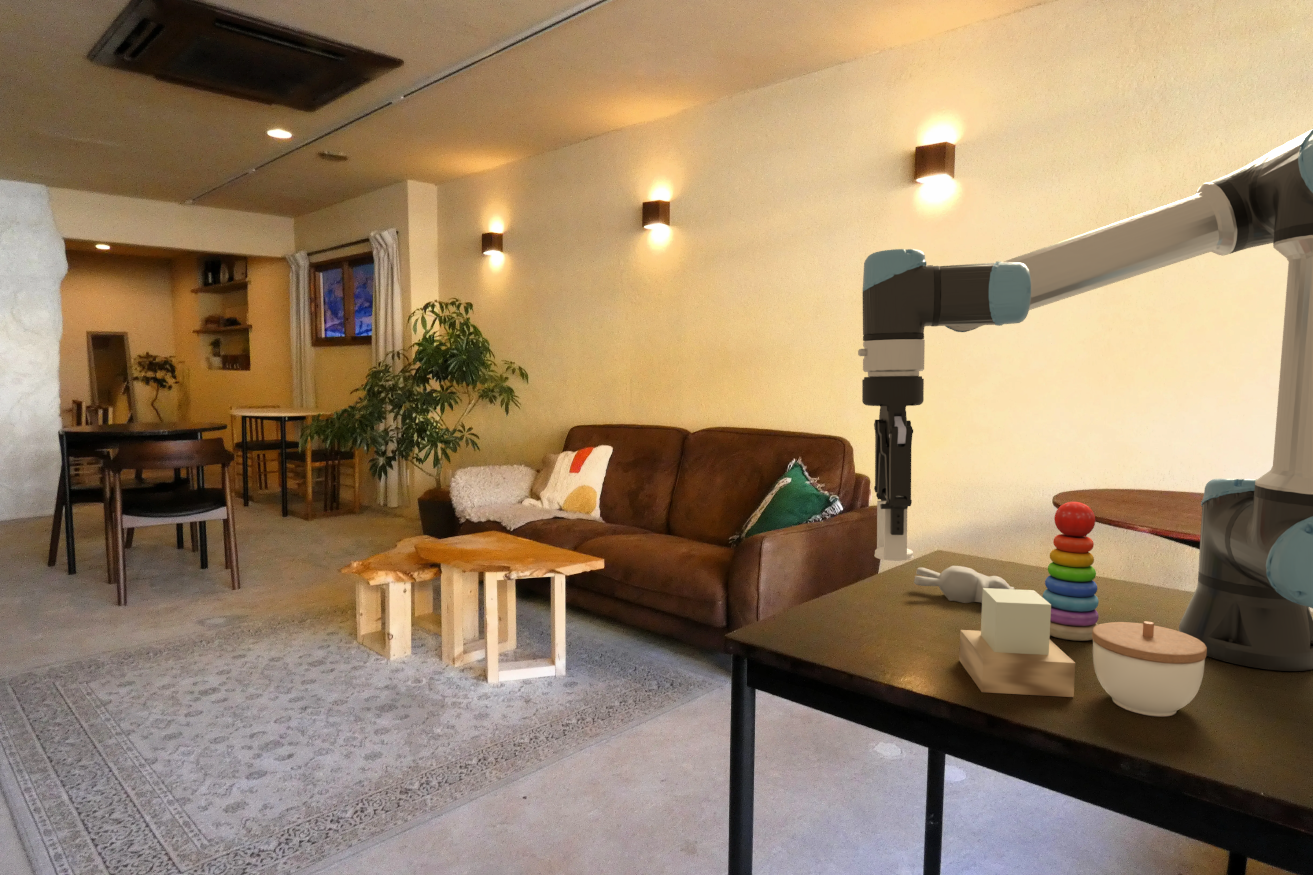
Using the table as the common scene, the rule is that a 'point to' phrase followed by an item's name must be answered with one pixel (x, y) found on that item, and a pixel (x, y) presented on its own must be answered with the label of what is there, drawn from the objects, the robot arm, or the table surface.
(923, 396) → the robot arm
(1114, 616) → the table surface
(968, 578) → the bunny figurine
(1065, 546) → the stacking toy
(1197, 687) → the lidded jar
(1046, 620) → the cube
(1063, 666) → the plinth
